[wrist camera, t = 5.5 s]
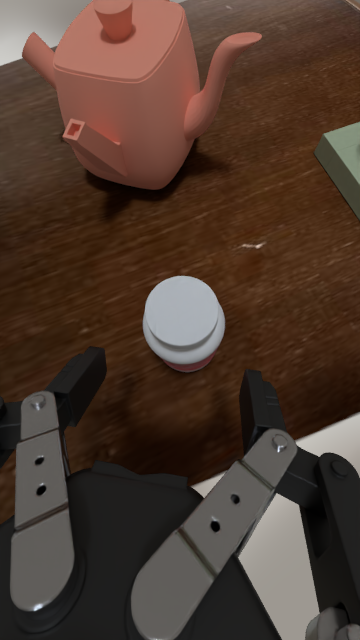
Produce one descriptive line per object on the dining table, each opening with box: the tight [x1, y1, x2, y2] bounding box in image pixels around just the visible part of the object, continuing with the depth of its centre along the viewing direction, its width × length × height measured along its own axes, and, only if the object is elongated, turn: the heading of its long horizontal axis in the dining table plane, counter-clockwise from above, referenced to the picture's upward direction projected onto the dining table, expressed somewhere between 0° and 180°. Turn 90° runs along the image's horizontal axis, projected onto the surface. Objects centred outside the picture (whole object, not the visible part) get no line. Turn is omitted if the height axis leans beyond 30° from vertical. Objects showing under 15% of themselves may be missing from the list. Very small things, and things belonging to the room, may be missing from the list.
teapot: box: [22, 0, 262, 190], centre depth 27 cm, size 18×18×14 cm
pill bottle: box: [143, 276, 225, 372], centre depth 20 cm, size 6×6×11 cm
